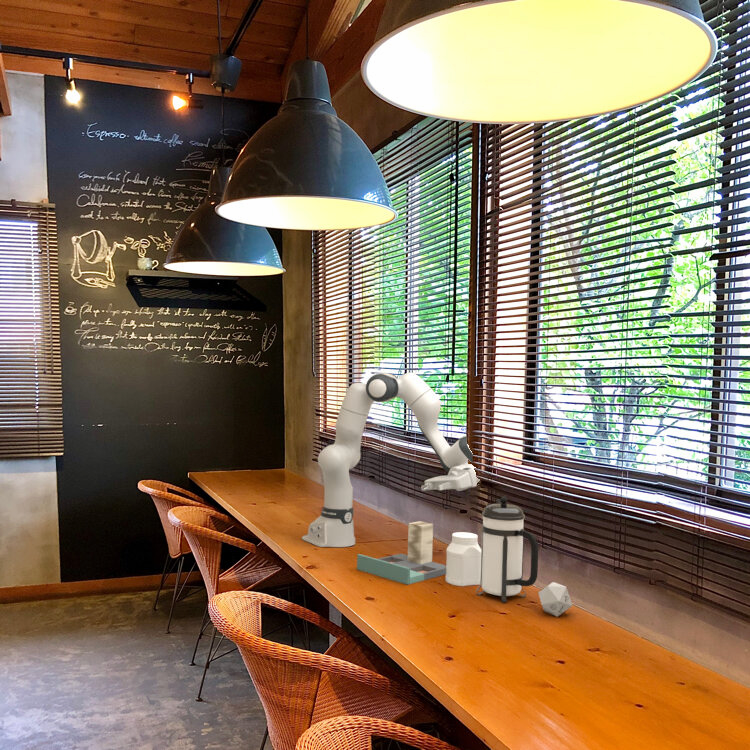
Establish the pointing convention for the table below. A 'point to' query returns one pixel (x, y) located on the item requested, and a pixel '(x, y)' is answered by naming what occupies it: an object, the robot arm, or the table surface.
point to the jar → (463, 560)
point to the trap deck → (400, 568)
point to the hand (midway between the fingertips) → (430, 488)
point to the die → (555, 599)
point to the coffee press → (505, 551)
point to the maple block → (420, 542)
